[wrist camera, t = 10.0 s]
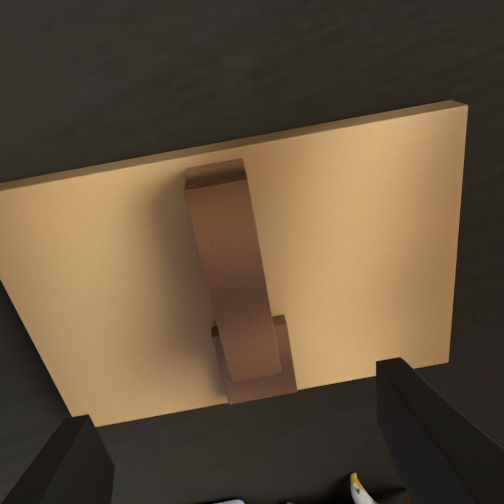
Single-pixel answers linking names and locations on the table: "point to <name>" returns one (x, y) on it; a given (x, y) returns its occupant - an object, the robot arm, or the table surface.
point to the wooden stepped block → (237, 284)
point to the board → (272, 251)
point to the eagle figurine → (362, 493)
